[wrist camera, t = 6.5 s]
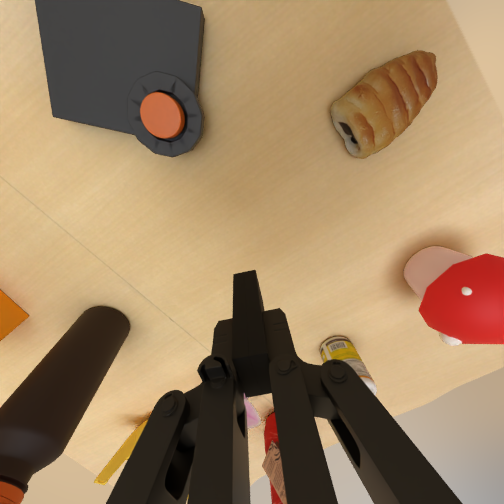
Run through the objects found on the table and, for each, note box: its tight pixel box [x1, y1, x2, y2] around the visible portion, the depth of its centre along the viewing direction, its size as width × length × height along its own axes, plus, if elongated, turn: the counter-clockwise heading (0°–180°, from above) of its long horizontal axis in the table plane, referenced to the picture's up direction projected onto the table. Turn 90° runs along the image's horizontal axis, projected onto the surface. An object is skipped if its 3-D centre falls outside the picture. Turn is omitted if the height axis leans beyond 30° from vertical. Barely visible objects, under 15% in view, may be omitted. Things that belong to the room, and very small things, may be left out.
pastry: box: [331, 50, 437, 159], centre depth 21 cm, size 9×7×4 cm
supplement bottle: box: [320, 337, 377, 395], centre depth 34 cm, size 6×6×10 cm
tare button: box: [140, 92, 185, 138], centre depth 19 cm, size 3×3×2 cm
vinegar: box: [0, 307, 130, 504], centre depth 25 cm, size 7×7×20 cm
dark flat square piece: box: [35, 0, 205, 157], centre depth 19 cm, size 13×11×4 cm
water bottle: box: [262, 412, 287, 504], centre depth 36 cm, size 12×8×25 cm, turn 13°
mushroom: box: [404, 246, 504, 345], centre depth 27 cm, size 11×11×12 cm
